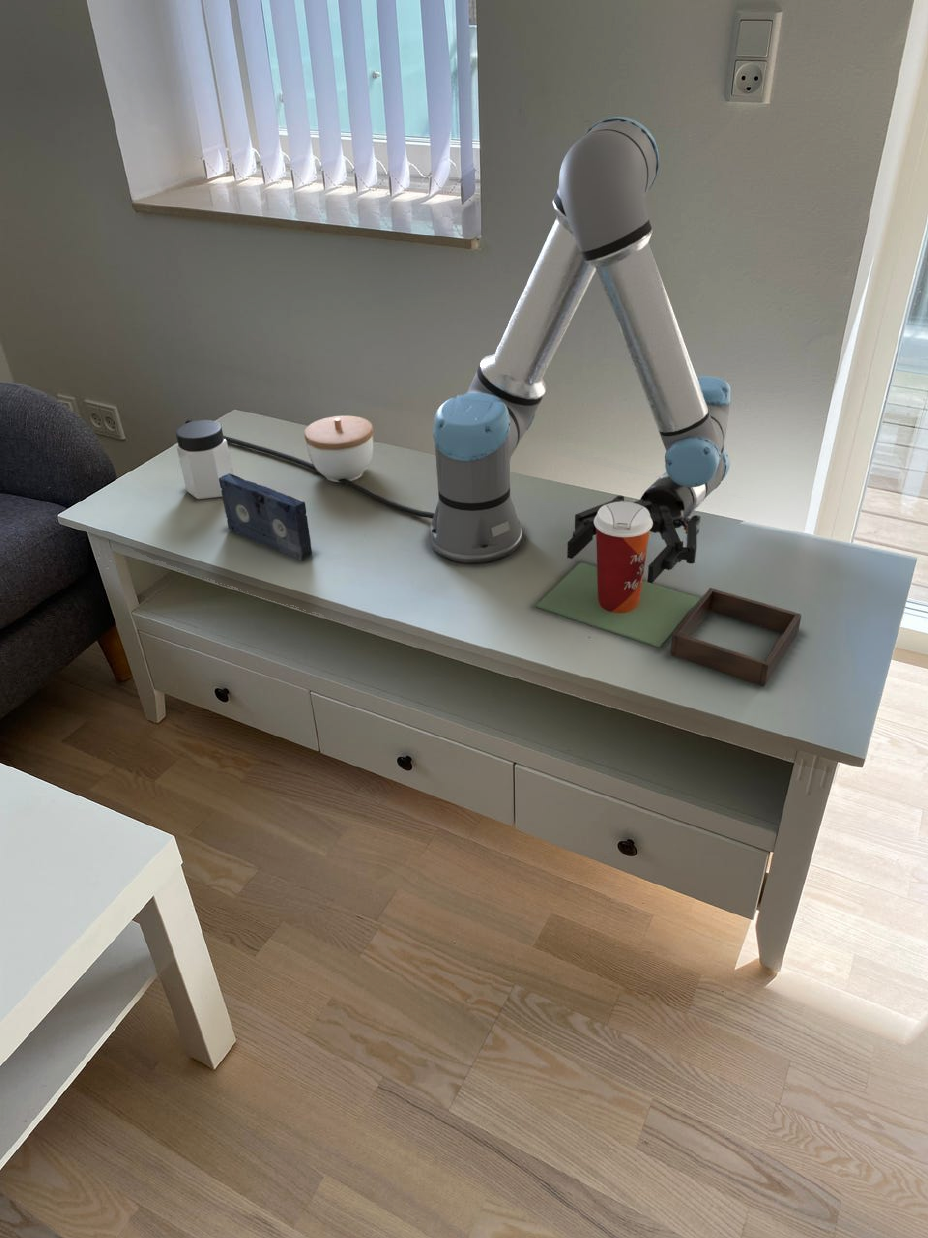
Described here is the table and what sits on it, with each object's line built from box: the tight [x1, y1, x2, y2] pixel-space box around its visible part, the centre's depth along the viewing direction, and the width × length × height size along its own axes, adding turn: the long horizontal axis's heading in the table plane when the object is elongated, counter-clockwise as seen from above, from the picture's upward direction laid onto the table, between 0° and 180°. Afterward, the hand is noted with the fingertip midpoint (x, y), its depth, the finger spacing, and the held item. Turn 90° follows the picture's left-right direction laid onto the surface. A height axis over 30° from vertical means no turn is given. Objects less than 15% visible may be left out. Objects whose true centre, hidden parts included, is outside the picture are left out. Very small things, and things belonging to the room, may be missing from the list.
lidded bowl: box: [303, 414, 375, 483], centre depth 181 cm, size 13×13×11 cm
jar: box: [175, 419, 234, 500], centre depth 178 cm, size 9×8×12 cm
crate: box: [669, 587, 802, 687], centre depth 135 cm, size 13×13×4 cm
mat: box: [535, 562, 700, 649], centre depth 145 cm, size 20×14×1 cm
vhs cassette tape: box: [219, 473, 313, 561], centre depth 161 cm, size 18×3×10 cm, turn 51°
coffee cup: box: [594, 501, 653, 613], centre depth 141 cm, size 8×8×15 cm
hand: (609, 562), depth 138 cm, fingers open, 12 cm apart
